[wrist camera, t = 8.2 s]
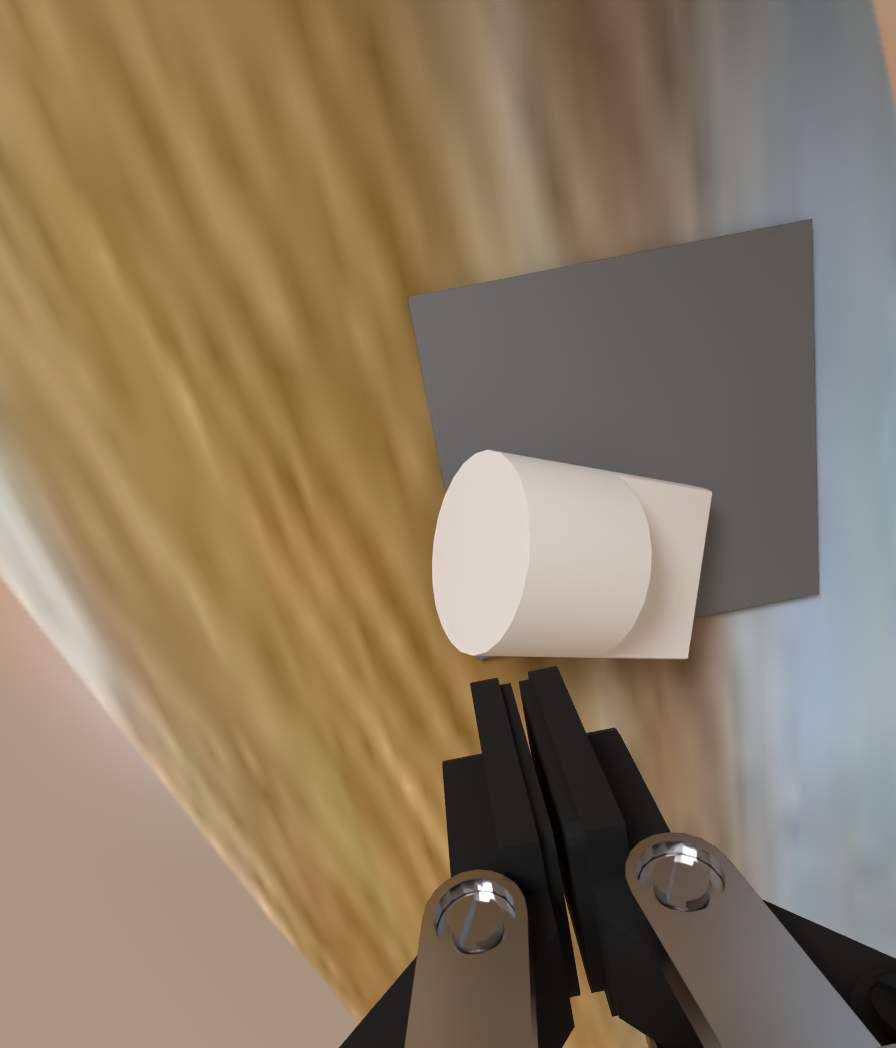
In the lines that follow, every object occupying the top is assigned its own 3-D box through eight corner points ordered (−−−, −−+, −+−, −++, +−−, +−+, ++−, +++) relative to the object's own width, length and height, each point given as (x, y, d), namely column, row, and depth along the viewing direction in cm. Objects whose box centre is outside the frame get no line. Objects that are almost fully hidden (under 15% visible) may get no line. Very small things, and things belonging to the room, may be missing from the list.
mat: (408, 298, 31) (407, 297, 31) (804, 221, 31) (811, 218, 31) (476, 654, 37) (477, 659, 36) (812, 589, 37) (819, 593, 36)
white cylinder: (422, 627, 32) (609, 634, 37) (512, 684, 24) (736, 683, 29) (445, 451, 32) (631, 482, 37) (544, 447, 24) (765, 488, 29)
